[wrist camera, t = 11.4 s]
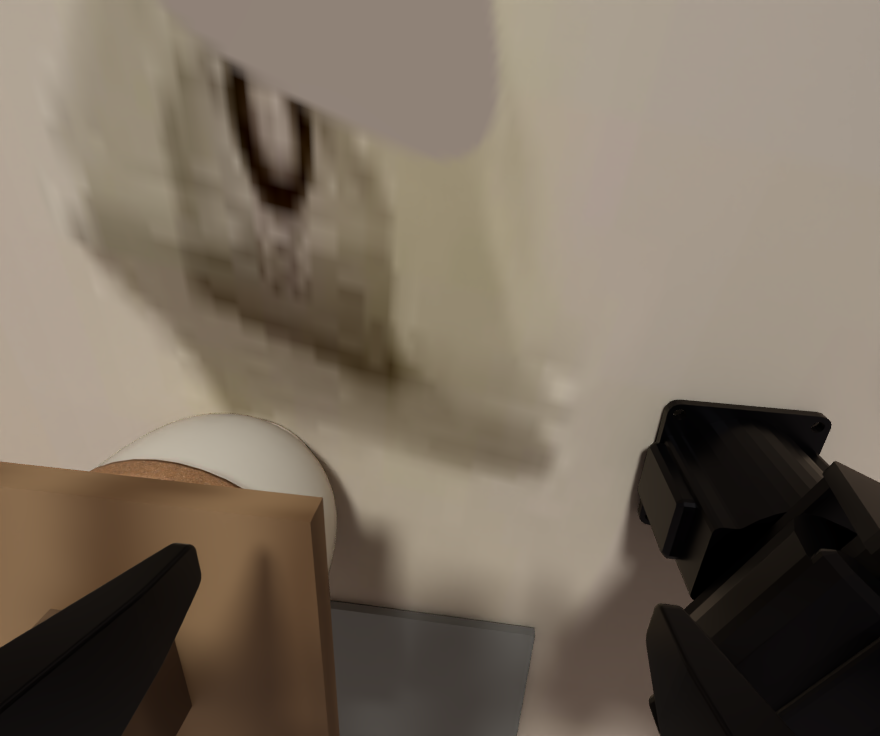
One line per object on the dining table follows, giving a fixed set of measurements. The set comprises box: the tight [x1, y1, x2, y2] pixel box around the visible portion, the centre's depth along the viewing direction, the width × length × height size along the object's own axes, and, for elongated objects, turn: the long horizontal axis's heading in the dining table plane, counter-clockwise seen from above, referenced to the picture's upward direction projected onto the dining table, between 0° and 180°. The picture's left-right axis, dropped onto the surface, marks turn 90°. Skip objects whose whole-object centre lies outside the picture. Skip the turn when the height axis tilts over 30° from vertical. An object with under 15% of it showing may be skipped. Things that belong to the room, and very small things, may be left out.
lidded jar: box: [90, 413, 337, 575], centre depth 21 cm, size 11×11×9 cm
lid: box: [0, 462, 340, 736], centre depth 15 cm, size 14×14×4 cm
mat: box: [330, 601, 535, 736], centre depth 32 cm, size 20×15×1 cm
